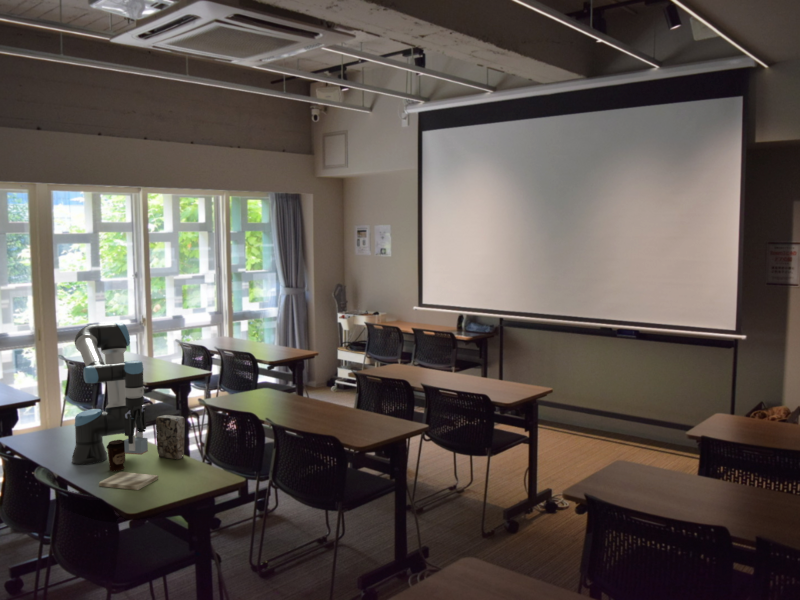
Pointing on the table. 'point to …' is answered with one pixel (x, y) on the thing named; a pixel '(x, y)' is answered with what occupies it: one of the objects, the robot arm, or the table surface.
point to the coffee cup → (116, 455)
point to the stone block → (170, 436)
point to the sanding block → (137, 446)
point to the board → (128, 480)
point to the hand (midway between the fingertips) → (136, 448)
